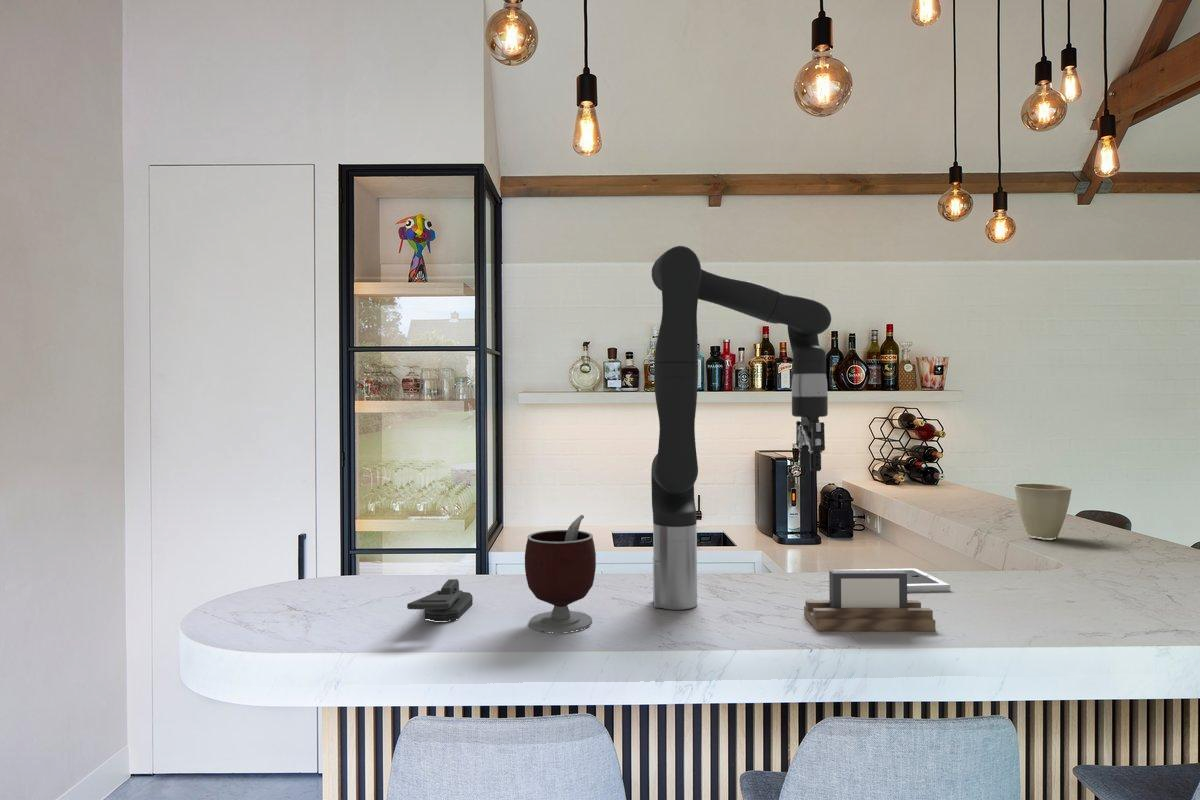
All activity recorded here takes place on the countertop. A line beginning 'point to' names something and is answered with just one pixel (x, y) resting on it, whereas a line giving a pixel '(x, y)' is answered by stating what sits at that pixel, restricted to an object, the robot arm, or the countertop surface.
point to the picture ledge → (870, 624)
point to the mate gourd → (560, 575)
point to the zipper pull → (444, 602)
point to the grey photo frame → (868, 588)
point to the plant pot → (1042, 508)
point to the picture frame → (921, 581)
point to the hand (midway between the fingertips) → (810, 469)
